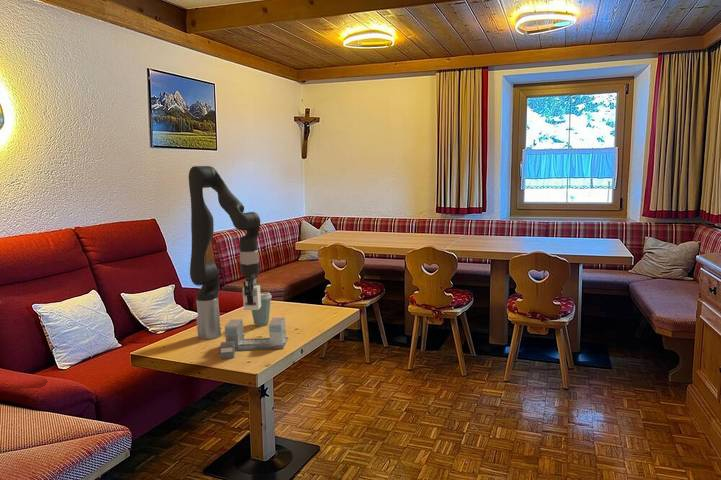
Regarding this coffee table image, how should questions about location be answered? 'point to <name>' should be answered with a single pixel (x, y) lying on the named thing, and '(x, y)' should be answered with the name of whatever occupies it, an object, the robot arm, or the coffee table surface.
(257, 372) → the coffee table surface
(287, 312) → the coffee table surface
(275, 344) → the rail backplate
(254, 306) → the block
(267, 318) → the disposable coffee cup
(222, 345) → the block
